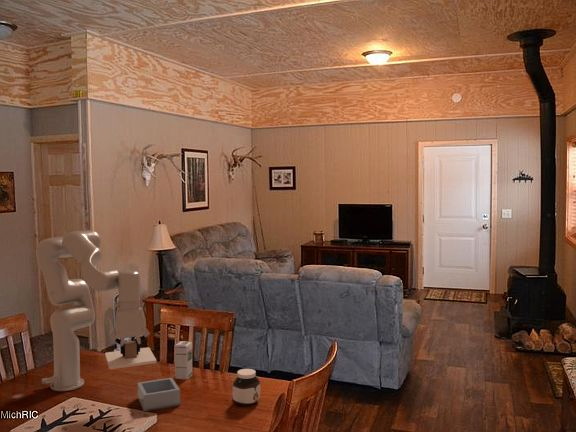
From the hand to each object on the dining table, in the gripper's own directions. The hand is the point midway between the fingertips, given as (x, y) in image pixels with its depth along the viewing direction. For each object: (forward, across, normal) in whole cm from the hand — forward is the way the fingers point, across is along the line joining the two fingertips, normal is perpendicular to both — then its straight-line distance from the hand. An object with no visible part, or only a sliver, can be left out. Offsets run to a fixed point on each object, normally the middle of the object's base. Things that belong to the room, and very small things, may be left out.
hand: (130, 354), depth 191 cm
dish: (+20, +10, +1) cm, 22 cm away
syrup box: (+20, +24, +22) cm, 38 cm away
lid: (+2, 0, 0) cm, 2 cm away
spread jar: (+20, +40, -10) cm, 46 cm away
